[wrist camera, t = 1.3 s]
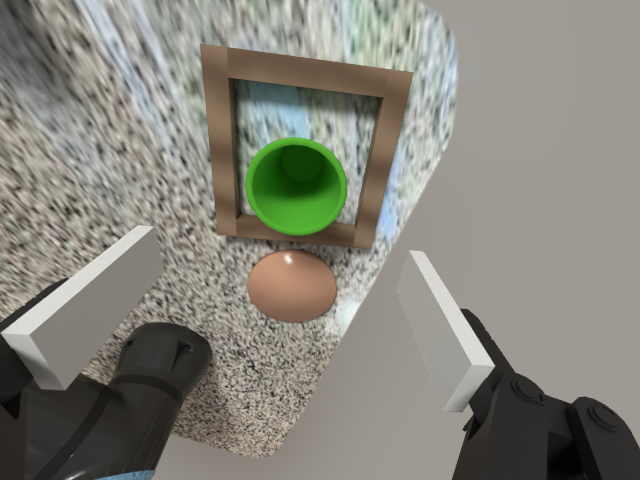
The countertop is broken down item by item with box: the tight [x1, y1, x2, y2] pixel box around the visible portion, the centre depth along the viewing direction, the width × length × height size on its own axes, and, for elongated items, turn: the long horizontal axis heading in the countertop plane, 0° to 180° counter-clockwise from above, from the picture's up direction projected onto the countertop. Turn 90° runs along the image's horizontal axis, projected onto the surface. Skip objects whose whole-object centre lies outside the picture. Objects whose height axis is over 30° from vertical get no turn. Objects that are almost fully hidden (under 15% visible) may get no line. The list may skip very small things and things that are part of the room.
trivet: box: [247, 249, 336, 322], centre depth 42 cm, size 14×14×1 cm
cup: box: [245, 137, 347, 236], centre depth 28 cm, size 9×9×11 cm
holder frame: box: [200, 44, 414, 249], centre depth 32 cm, size 21×21×2 cm
